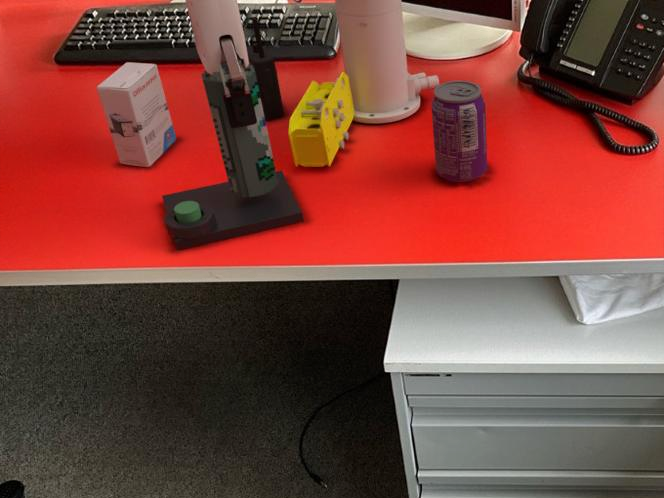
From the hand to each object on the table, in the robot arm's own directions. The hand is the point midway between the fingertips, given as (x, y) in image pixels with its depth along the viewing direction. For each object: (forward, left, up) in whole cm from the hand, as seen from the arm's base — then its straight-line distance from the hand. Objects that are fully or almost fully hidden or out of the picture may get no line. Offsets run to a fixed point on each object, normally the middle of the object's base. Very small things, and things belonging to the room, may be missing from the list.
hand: (238, 112), depth 110 cm
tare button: (+9, +4, -10) cm, 14 cm away
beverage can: (-28, +3, -13) cm, 31 cm away
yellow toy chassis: (-13, -13, -13) cm, 22 cm away
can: (0, 0, -10) cm, 10 cm away
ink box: (+11, -22, -13) cm, 28 cm away
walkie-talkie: (-8, -27, -13) cm, 31 cm away
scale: (+3, 0, -13) cm, 13 cm away
